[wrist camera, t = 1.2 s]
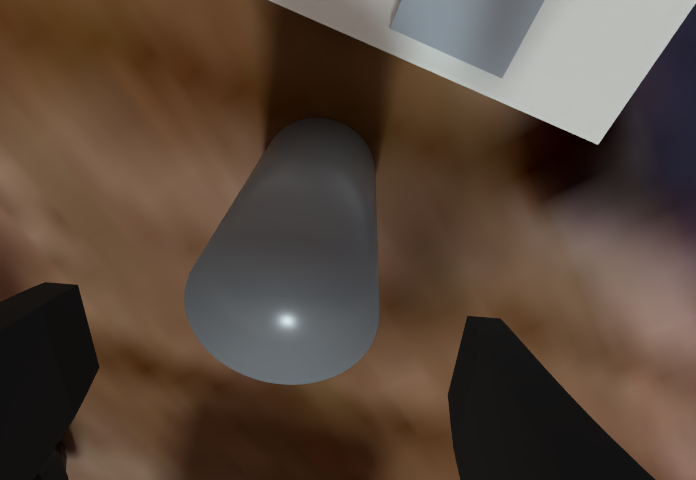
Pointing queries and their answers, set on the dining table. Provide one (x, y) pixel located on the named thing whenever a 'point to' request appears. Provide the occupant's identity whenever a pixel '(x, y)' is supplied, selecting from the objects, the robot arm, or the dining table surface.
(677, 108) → the dining table surface
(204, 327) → the peg
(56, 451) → the muzzle brake
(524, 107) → the socket block
